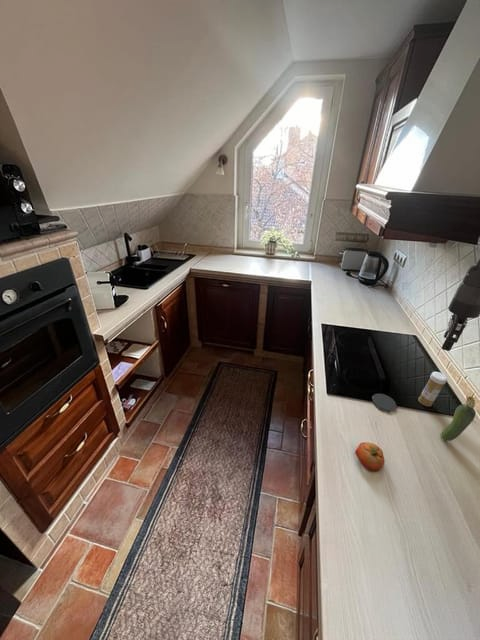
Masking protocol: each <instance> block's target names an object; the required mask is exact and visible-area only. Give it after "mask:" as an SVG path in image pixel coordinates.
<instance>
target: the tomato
mask: <svg viewBox="0 0 480 640" xmlns="http://www.w3.org/2000/svg"><path fill="white" fill-rule="evenodd" d="M354 453H355V455H356V457H357V459H358V460H359V463H361V465H362V466H363V467H364V468H366V469H367V470H368V471H370V472H371V473H372V472H373V473H374V472H378V471H380V470H381V469H382V468H383V466H384V465H385V461H386V460H385V457H384V452H383V450H382V449H381V448H380V446H379V445H376V444H375V443H372V442H360V443H359V444H358V446H357V447H356V450H355V451H354Z"/></svg>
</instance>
